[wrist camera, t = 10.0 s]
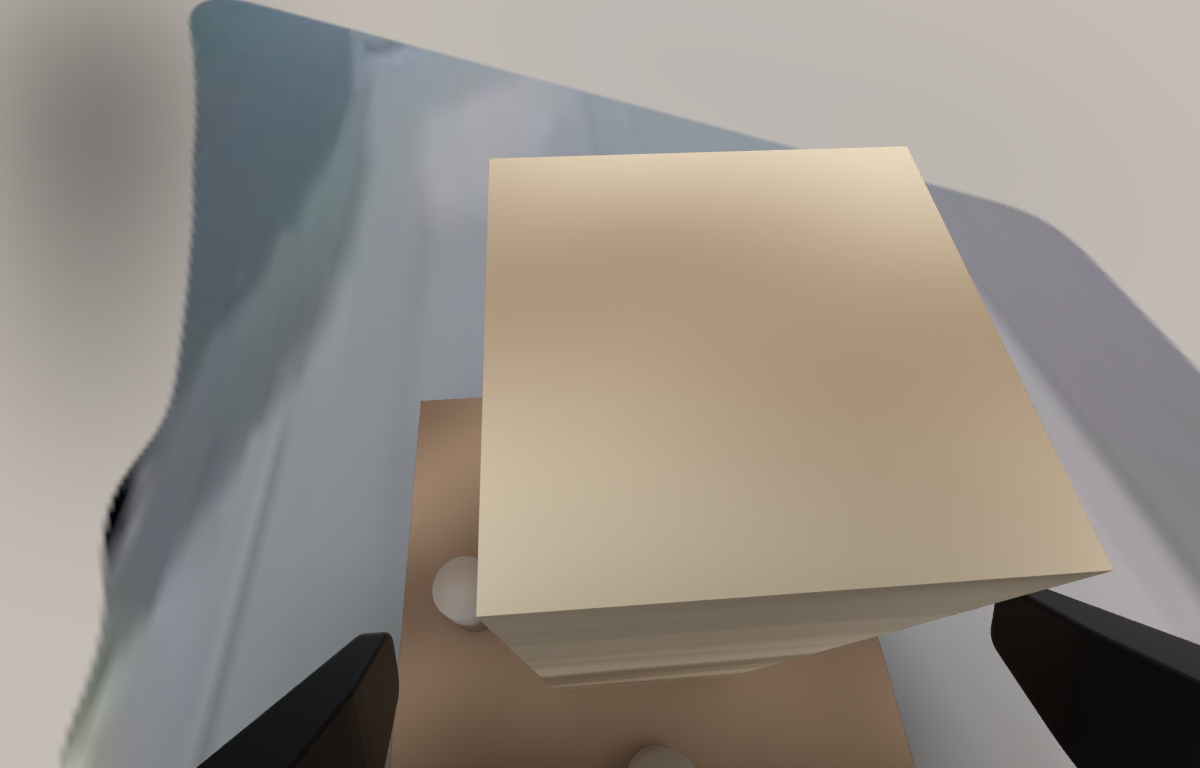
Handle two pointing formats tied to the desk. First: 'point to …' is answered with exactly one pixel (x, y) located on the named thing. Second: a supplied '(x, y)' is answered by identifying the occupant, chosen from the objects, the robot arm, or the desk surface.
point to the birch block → (746, 417)
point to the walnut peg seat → (603, 714)
